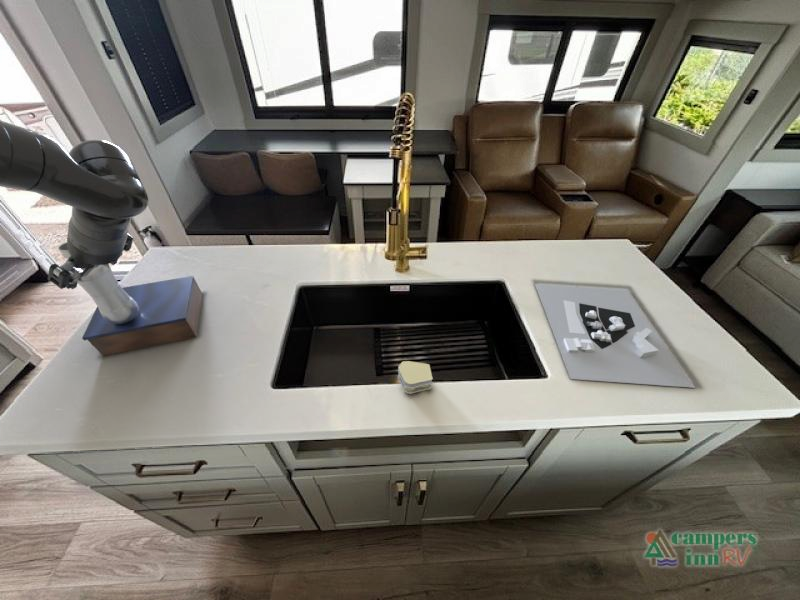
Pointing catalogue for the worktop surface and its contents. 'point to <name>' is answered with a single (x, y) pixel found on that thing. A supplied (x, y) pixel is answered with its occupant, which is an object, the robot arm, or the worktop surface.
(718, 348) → the worktop surface
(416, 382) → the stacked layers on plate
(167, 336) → the lidded box
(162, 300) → the box lid
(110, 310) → the plastic bottle
